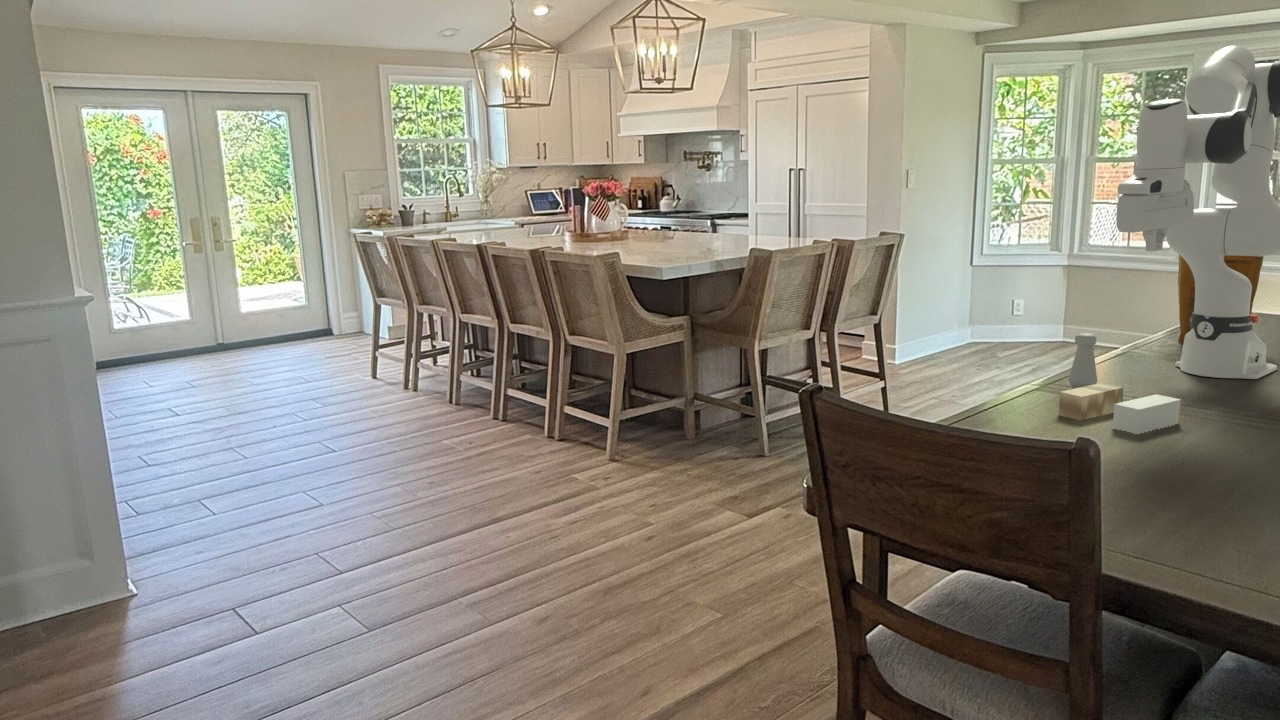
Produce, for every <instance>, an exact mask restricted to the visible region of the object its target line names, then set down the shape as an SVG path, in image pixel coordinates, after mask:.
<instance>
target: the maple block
mask: <svg viewBox="0 0 1280 720" xmlns="http://www.w3.org/2000/svg"><path fill="white" fill-rule="evenodd" d="M1124 388H1125V387H1122V386H1119V385H1114V384H1109V383H1108V384H1107V383H1104V382H1103V383H1102V382H1100V383H1099V382H1098V383H1096V384H1094V385H1089V386H1085V387H1080V388H1075V389H1072V388H1071V389H1067V390H1062V391H1059V402H1058V403H1059V405H1058V416H1061V417H1064V418H1069V419H1072V420H1077V421H1080V422H1081V421H1085V420H1089V419H1093V418H1097V416H1098V417H1100V416H1101V417H1102V416H1105V415H1109V414H1114V404H1117V403H1121V402H1124V401H1123V400H1124V399H1123V398H1124ZM1092 417H1093V418H1092ZM1088 418H1089V419H1088ZM1084 419H1085V420H1084Z"/></svg>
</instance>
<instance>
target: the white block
mask: <svg viewBox="0 0 1280 720" xmlns="http://www.w3.org/2000/svg"><path fill="white" fill-rule="evenodd" d="M1181 405H1182V399H1181V398H1176V397H1171V396H1167V395H1162V394H1158V393H1156V394H1152V395H1147V396H1143V397H1140V398H1139V397H1137V398H1134V399H1131V400H1126V401H1123V402H1121V403H1117V404H1114V413H1113V420H1112V429H1113V430H1116V429H1117V431H1120V430H1122V431H1121V432H1123V431H1127V432H1131V433H1134V434H1133V435H1135V434H1139V435H1141V434H1140V433H1142V434H1145V433H1144V432H1146V433H1149V432H1148V431H1150V432H1153V431H1152V430H1154V431H1156V430H1155V429H1158V430H1161V429H1160V428H1162V429H1165V428H1164V427H1166V428H1169V427H1173V426H1176V425H1175V424H1177V425H1179V424H1180V420H1181V419H1180V418H1181ZM1178 423H1179V424H1178ZM1172 425H1173V426H1172ZM1168 426H1169V427H1168ZM1127 432H1126V433H1127ZM1131 433H1130V434H1131Z"/></svg>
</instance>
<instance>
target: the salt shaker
mask: <svg viewBox="0 0 1280 720" xmlns="http://www.w3.org/2000/svg"><path fill="white" fill-rule="evenodd" d="M1074 342H1075V344H1076V345H1077V348H1076V351H1075V355H1074V358H1073V361H1072V365H1071V368H1070V369H1071V370H1070V372H1069V376H1068V382H1069V384H1070V386H1071V389H1075V388H1080V387H1085V386H1089V385H1094V384H1098V374H1097V368H1096V367H1097V366H1096V358H1095V357H1096V356H1095V352H1094V351H1095V350H1094V345H1096V344H1097V335H1096V334H1094V333H1089V332H1081V333H1077V334H1076V335H1075V336H1074Z"/></svg>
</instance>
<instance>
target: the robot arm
mask: <svg viewBox="0 0 1280 720" xmlns="http://www.w3.org/2000/svg"><path fill="white" fill-rule="evenodd" d="M1185 98H1186V100H1184V99H1181V98H1166V99H1159V100H1153V101H1151V102H1148V103H1147V104H1145V105H1143V108H1141V109H1142V110H1141V113H1140V117H1139V123H1138V128H1137V136H1136V145H1135V146H1136V151H1137V160H1136V163H1135V166H1134V174H1132V175H1131V176H1129V177H1128V178H1127V179H1125V180H1123V181H1121V182H1120V183H1118V185H1117V194H1118V195H1120V196H1119V198H1118V200H1117V205H1116V217H1115V219H1116V222H1115V224H1116V227H1117V230H1118V231H1119V232H1120V233H1128V234H1129V233H1130V234H1131V233H1132V234H1133V233H1134V234H1135V233H1141V232H1142V237H1143V240H1144V242H1145V251H1146V252H1156V251H1161V250H1163V248H1164V245H1163V244H1164V241H1165V239H1166V243H1167V244H1168V246H1169V247H1170V249H1172V250H1173V251H1174V252H1175V253H1177V254H1178V256H1179V255H1181V256H1182V257H1183V258H1184V259H1185V261H1186V262H1187V263H1188V265H1189V267H1190V268H1191V270H1192V273H1193V276H1194V281H1195V305H1194V312H1193V313H1192V316H1191V319H1190V321H1191V324H1190V327H1191V328H1192V329H1191V331H1190V332H1188V333H1187V334H1186V335H1185V339H1184V344H1183V345H1182V349H1181V350H1182V351H1181V356H1180V360H1177V361H1176V362H1175V367H1177V368H1180V369H1179V370H1181V372H1184V373H1187V374H1191V375H1196V376H1200V377H1207V378H1208V377H1210V378H1217V379H1218V378H1219V379H1248V380H1257V379H1260V378H1262V377H1265V376H1266V375H1269V374H1270V373H1272V372H1275V371H1277V370H1278V365H1276V364H1273V363H1270V362H1267V350H1268V349H1267V345H1266V343H1264V342H1263V341H1262V340H1261V339H1260V338H1259V337H1258V336H1257V335H1256V333H1254V331H1253V328H1254V327H1253V324H1258V323H1259V320H1260V316H1259V315H1258V314H1252V313H1251V314H1249V311H1250V302H1251V293H1252V285H1251V282H1250V280H1249V279H1248V278H1247V277H1246V276H1244V275H1243V274H1241V273H1239V272H1237V271H1235V270H1232V269H1230V268H1229V267H1228V266H1227V265H1226V264H1225V262H1224V256H1227V255H1228V256H1259V257H1260V256H1264V257H1267V256H1275V255H1280V204H1279V203H1278V202H1277V201H1276V199H1275V198H1274V196H1273V195H1272V193H1271V188H1270V175H1271V165H1272V161H1273V153H1274V149H1275V122H1274V121H1275V120H1274V118H1275V119H1278V118H1279V117H1280V60H1275V61H1273V62H1266V63H1256V58H1255V56H1254V55H1253V53H1252V52H1251V51H1250V50H1249V49H1248V48H1246V47H1243V46H1241V45H1229V46H1225V47H1221V48H1220V49H1218V50H1216V51H1215V52H1214V53H1212V54H1210V55H1209V56H1208V57H1207V58H1206V59H1204V61H1202V63H1200V64H1199V66H1198V67H1197V68H1196V69H1195V71H1194V72H1193V73H1192V75H1191V76H1190V77H1189V80H1188V82H1187V84H1186V88H1185ZM1186 101H1187V102H1186ZM1187 104H1188V106H1187ZM1188 108H1189V110H1190V113H1191V114H1190V115H1189V114H1188ZM1273 117H1274V118H1273ZM1199 163H1200V164H1203V163H1204V164H1205V163H1210V164H1211V163H1213V164H1214V165H1213V171H1212V176H1211V185H1212V187H1213V190H1214V191H1216V193H1218V194H1219V195H1221V196H1222V197H1224V198H1227V199H1228V200H1232V201H1234V202H1235V203H1237V206H1234V207H1231V208H1230V207H1224V208H1223V207H1222V208H1221V207H1216V208H1215V207H1212V208H1211V207H1198V208H1195V199H1194V197H1195V196H1194V192H1193V189H1192V186H1191V184H1190V183H1189V181H1188V180H1186V179H1185V176H1186V164H1199Z"/></svg>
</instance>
